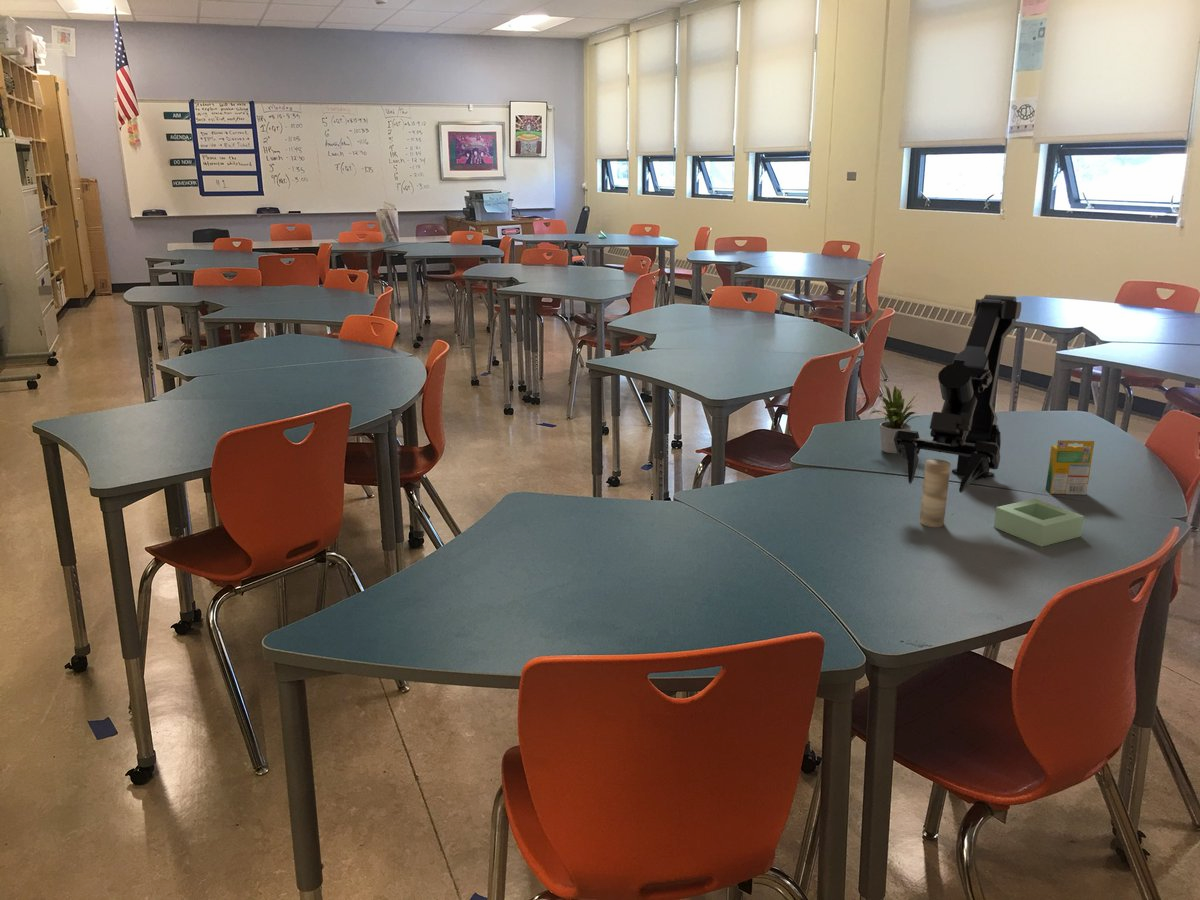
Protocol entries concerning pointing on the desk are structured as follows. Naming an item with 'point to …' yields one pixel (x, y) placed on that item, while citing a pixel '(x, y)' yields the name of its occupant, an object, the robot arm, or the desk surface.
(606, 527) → the desk surface
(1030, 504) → the pale green square holder
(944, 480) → the beige ridged cylinder
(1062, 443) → the crayon box
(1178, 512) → the desk surface
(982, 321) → the robot arm
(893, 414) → the house plant
